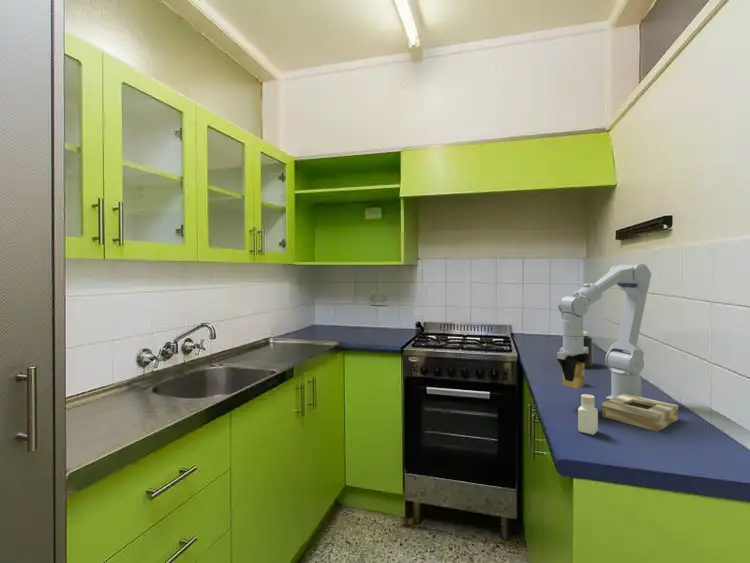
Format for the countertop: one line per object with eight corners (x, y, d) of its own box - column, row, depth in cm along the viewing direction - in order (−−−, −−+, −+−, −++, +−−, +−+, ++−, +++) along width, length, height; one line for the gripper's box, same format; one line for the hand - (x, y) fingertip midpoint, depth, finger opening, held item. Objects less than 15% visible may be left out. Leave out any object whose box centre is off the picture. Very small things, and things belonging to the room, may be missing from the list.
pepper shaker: (598, 431, 107) (598, 395, 107) (594, 436, 104) (594, 399, 104) (581, 427, 110) (581, 392, 110) (577, 432, 107) (577, 396, 107)
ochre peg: (570, 382, 129) (570, 360, 128) (584, 385, 125) (584, 363, 125) (562, 385, 126) (562, 362, 126) (576, 388, 122) (576, 365, 122)
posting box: (624, 406, 126) (624, 393, 126) (678, 419, 115) (678, 405, 114) (602, 416, 118) (602, 402, 118) (657, 431, 106) (657, 416, 106)
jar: (585, 370, 171) (584, 334, 171) (557, 365, 180) (557, 331, 180) (597, 365, 179) (596, 331, 178) (570, 361, 188) (569, 329, 187)
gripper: (572, 331, 133) (573, 372, 133) (547, 336, 124) (548, 380, 125) (595, 333, 127) (595, 377, 127) (570, 339, 118) (570, 385, 119)
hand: (573, 379), depth 125 cm, fingers closed on ochre peg, 4 cm apart
